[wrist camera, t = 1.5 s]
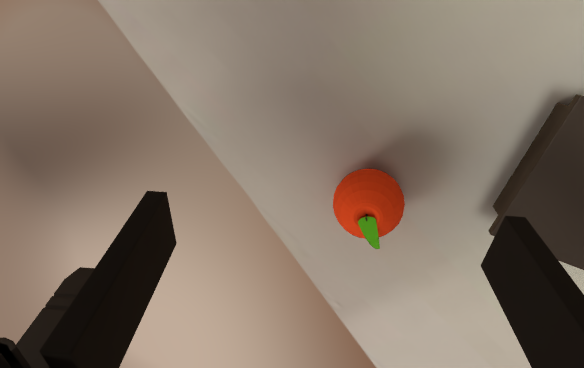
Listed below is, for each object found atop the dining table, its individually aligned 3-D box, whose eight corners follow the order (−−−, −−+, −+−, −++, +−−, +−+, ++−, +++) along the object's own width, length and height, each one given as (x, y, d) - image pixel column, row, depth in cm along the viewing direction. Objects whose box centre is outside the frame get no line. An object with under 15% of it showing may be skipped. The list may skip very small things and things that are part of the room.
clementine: (412, 220, 39) (417, 256, 32) (350, 232, 41) (343, 268, 35) (393, 151, 37) (395, 175, 30) (329, 168, 39) (318, 194, 32)
